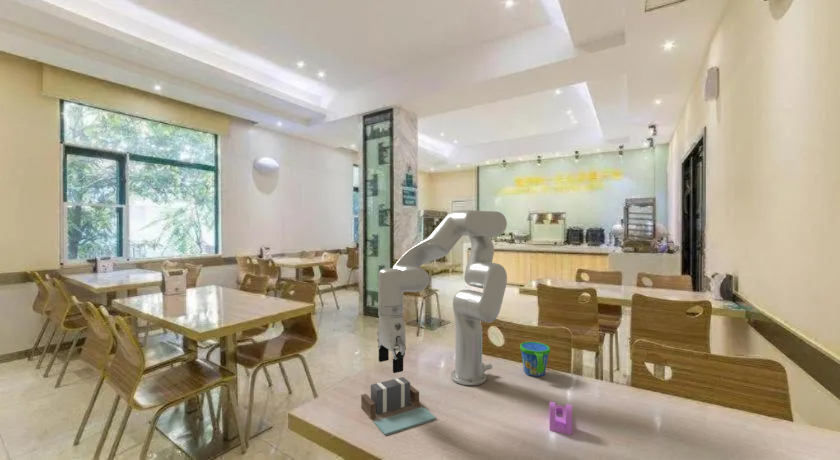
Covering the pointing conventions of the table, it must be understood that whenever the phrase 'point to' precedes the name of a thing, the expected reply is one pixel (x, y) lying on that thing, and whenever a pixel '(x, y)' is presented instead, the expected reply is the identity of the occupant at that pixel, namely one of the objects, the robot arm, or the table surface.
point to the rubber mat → (404, 420)
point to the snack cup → (534, 358)
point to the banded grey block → (390, 395)
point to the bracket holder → (370, 406)
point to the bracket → (560, 418)
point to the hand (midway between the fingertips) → (390, 366)
